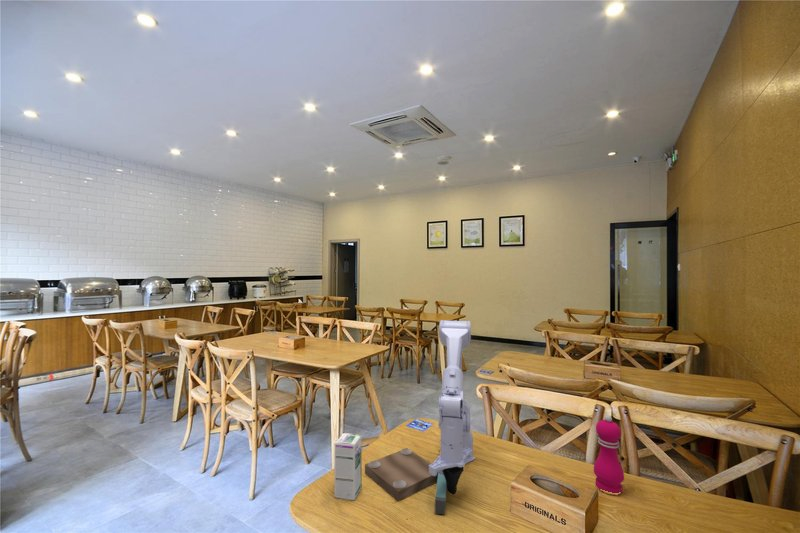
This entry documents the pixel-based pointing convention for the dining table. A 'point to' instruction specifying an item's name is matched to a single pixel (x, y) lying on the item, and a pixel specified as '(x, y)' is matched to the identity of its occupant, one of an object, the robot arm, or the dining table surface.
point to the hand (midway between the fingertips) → (451, 492)
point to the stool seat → (401, 473)
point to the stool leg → (440, 494)
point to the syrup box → (348, 466)
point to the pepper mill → (608, 457)
